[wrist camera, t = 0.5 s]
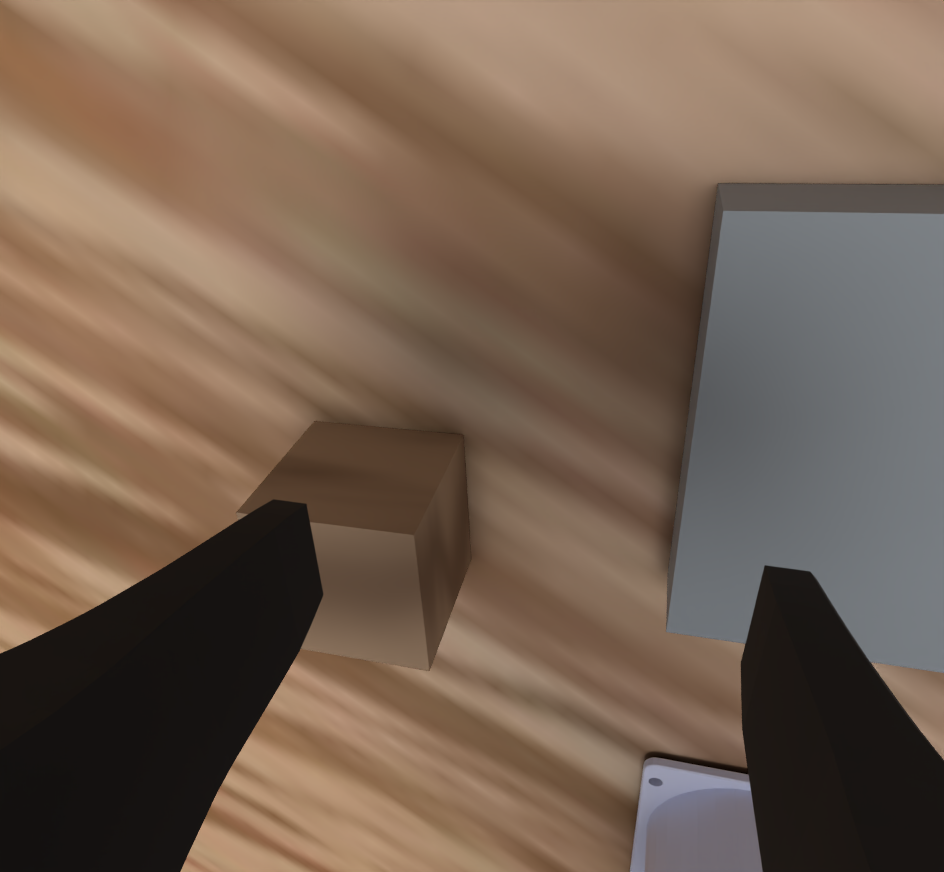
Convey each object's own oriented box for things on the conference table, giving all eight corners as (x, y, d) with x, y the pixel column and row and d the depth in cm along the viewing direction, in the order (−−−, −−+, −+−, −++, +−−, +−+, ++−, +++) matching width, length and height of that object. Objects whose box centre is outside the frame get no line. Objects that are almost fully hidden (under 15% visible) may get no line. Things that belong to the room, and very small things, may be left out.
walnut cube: (472, 557, 25) (429, 670, 20) (337, 539, 26) (272, 643, 22) (464, 433, 22) (414, 535, 18) (315, 419, 23) (236, 512, 19)
